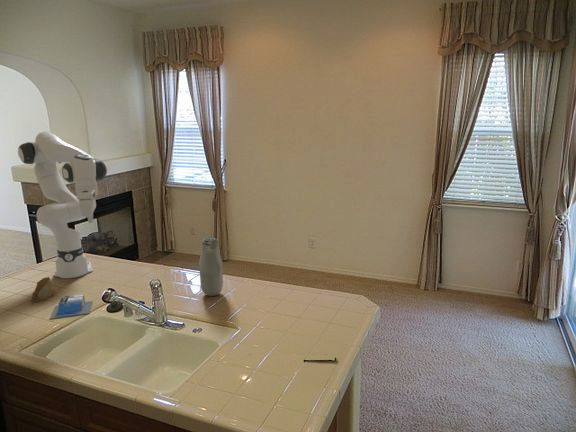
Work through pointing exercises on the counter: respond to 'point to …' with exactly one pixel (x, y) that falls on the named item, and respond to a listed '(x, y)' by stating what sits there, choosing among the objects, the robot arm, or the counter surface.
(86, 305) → the mat
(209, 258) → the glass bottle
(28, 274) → the counter surface
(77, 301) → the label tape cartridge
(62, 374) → the counter surface
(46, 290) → the rock
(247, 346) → the counter surface
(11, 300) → the counter surface
